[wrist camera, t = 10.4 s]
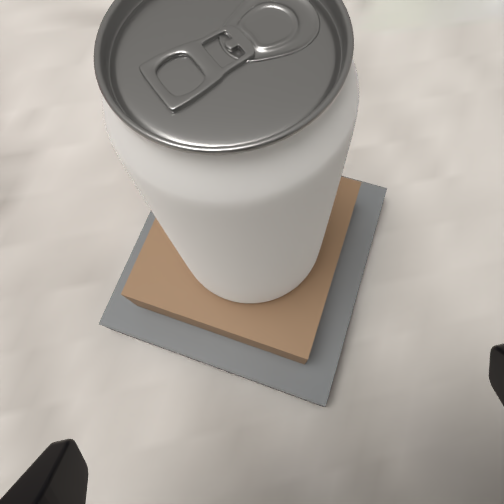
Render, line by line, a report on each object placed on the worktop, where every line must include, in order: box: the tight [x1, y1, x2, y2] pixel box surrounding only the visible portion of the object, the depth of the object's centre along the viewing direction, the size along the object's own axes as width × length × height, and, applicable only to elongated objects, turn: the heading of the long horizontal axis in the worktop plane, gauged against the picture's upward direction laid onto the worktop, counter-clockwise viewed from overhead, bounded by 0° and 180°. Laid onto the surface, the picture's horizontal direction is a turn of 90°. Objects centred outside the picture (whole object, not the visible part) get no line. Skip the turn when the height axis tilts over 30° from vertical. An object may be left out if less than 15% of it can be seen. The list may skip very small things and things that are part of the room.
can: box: [94, 0, 359, 303], centre depth 15 cm, size 6×6×12 cm
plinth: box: [99, 176, 387, 407], centre depth 23 cm, size 12×12×4 cm
